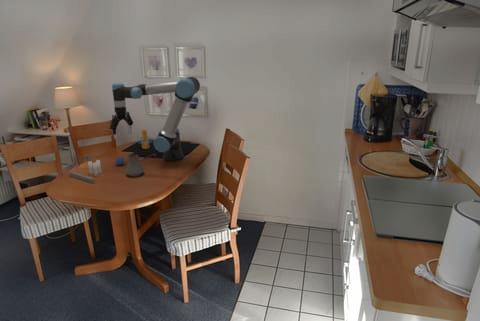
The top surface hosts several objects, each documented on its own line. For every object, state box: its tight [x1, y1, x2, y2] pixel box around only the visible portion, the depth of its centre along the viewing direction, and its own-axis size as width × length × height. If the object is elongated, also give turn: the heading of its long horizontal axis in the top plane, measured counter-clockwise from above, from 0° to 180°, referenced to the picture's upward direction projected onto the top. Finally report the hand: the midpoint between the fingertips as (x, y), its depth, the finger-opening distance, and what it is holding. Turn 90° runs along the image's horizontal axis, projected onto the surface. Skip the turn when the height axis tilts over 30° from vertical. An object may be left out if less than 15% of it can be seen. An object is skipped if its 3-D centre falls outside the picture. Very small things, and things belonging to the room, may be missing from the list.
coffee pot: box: [125, 153, 157, 177], centre depth 218 cm, size 21×12×15 cm, turn 82°
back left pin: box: [92, 162, 99, 177], centre depth 219 cm, size 2×2×8 cm
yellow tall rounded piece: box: [137, 129, 154, 150], centre depth 274 cm, size 12×10×15 cm
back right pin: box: [87, 160, 94, 175], centre depth 222 cm, size 2×2×8 cm
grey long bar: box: [68, 171, 96, 184], centre depth 215 cm, size 24×2×2 cm, turn 58°
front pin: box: [95, 159, 102, 174], centre depth 224 cm, size 2×2×8 cm
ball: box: [114, 156, 125, 166], centre depth 238 cm, size 6×6×6 cm
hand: (123, 136), depth 237 cm, fingers open, 13 cm apart
